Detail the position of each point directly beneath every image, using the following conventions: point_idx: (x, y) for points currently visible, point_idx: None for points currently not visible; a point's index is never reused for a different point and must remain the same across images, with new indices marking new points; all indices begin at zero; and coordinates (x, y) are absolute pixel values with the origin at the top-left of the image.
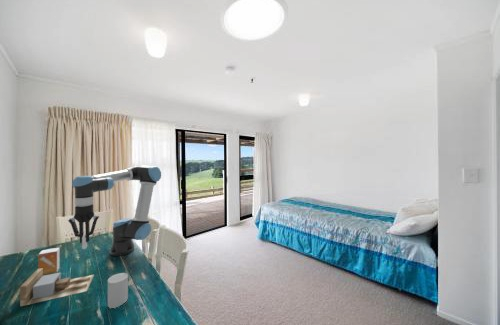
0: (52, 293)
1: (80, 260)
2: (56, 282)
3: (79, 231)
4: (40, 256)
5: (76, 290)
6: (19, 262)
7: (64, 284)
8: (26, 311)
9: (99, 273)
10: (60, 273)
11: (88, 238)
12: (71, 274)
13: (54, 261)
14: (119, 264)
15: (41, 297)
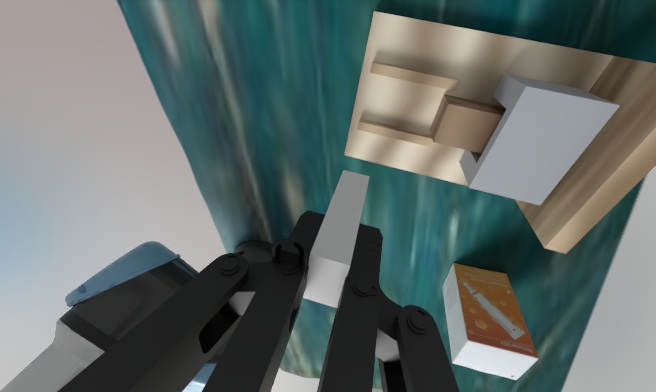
0: (507, 75)
1: (383, 288)
2: (490, 128)
3: (369, 382)
4: (527, 344)
5: (412, 53)
6: (528, 375)
7: (458, 102)
8: (618, 9)
9: (329, 163)
10: (468, 183)
11: (292, 234)
12: (414, 219)
13: (468, 300)
14: (268, 185)
15: None
